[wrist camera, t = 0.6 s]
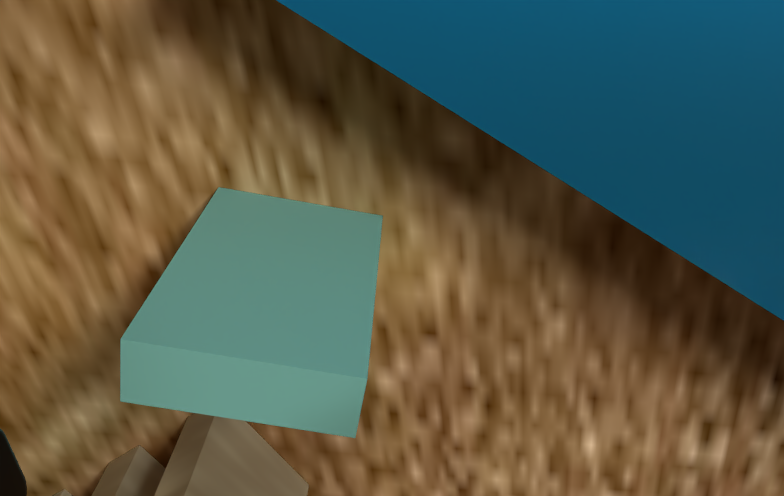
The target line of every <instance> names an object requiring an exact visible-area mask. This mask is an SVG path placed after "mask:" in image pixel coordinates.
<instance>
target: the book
mask: <svg viewBox="0 0 784 496" xmlns="http://www.w3.org/2000/svg"><path fill="white" fill-rule="evenodd" d="M277 1H278V2H280V3H281V4H283V5H284V6H286V7H288V8H289V9H291V10H292V11H294V12H296V13H297V14H299V15H300V16H302V17H303V18H305V19H307V20H308V21H310V22H311V23H313V24H315V25H316V26H318V27H319V28H321V29H322V30H324V31H326V32H327V33H329V34H330V35H332V36H334V37H335V38H337V39H338V40H340V41H341V42H343V43H345V44H346V45H348V46H349V47H351V48H353V49H354V50H356V51H357V52H359V53H360V54H362V55H364V56H365V57H367V58H368V59H370V60H372V61H373V62H375V63H376V64H378V65H379V66H381V67H383V68H384V69H386V70H387V71H389V72H391V73H392V74H394V75H395V76H397V77H398V78H400V79H402V80H403V81H405V82H406V83H408V84H410V85H411V86H413V87H414V88H416V89H417V90H419V91H421V92H422V93H424V94H425V95H427V96H429V97H430V98H432V99H433V100H435V101H436V102H438V103H440V104H441V105H443V106H444V107H446V108H448V109H449V110H451V111H452V112H454V113H455V114H457V115H459V116H460V117H462V118H463V119H465V120H467V121H468V122H470V123H471V124H473V125H474V126H476V127H478V128H479V129H481V130H482V131H484V132H486V133H487V134H489V135H490V136H492V137H493V138H495V139H497V140H498V141H500V142H501V143H503V144H505V145H506V146H508V147H509V148H511V149H513V150H514V151H516V152H517V153H519V154H520V155H522V156H524V157H525V158H527V159H528V160H530V161H532V162H533V163H535V164H536V165H538V166H539V167H541V168H543V169H544V170H546V171H547V172H549V173H551V174H552V175H554V176H555V177H557V178H558V179H560V180H562V181H563V182H565V183H566V184H568V185H570V186H571V187H573V188H574V189H576V190H577V191H579V192H581V193H582V194H584V195H585V196H587V197H589V198H590V199H592V200H593V201H595V202H596V203H598V204H600V205H601V206H603V207H604V208H606V209H608V210H609V211H611V212H612V213H614V214H615V215H617V216H619V217H620V218H622V219H623V220H625V221H627V222H628V223H630V224H631V225H633V226H634V227H636V228H638V229H639V230H641V231H642V232H644V233H646V234H647V235H649V236H650V237H652V238H653V239H655V240H657V241H658V242H660V243H661V244H663V245H665V246H666V247H668V248H669V249H671V250H672V251H674V252H676V253H677V254H679V255H680V256H682V257H684V258H685V259H687V260H688V261H690V262H691V263H693V264H695V265H696V266H698V267H699V268H701V269H703V270H704V271H706V272H707V273H709V274H710V275H712V276H714V277H715V278H717V279H718V280H720V281H722V282H723V283H725V284H726V285H728V286H729V287H731V288H733V289H734V290H736V291H737V292H739V293H741V294H742V295H744V296H745V297H747V298H748V299H750V300H752V301H753V302H755V303H756V304H758V305H760V306H761V307H763V308H764V309H766V310H767V311H769V312H771V313H772V314H774V315H775V316H777V317H779V318H780V319H782V320H783V321H784V0H277Z"/></svg>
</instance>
